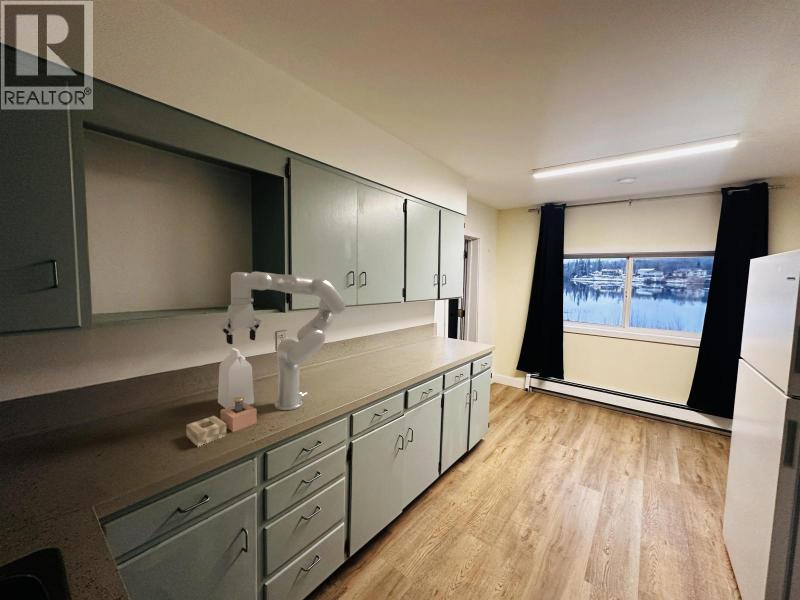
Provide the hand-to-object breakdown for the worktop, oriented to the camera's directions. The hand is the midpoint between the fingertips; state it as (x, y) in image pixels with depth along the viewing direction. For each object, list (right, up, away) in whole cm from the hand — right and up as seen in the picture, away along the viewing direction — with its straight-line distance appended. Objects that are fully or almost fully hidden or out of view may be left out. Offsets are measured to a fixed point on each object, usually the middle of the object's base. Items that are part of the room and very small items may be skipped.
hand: (241, 341), depth 138 cm
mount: (-7, -35, -13) cm, 38 cm away
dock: (0, -34, -2) cm, 34 cm away
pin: (0, -34, -2) cm, 34 cm away
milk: (-11, -31, +17) cm, 37 cm away
